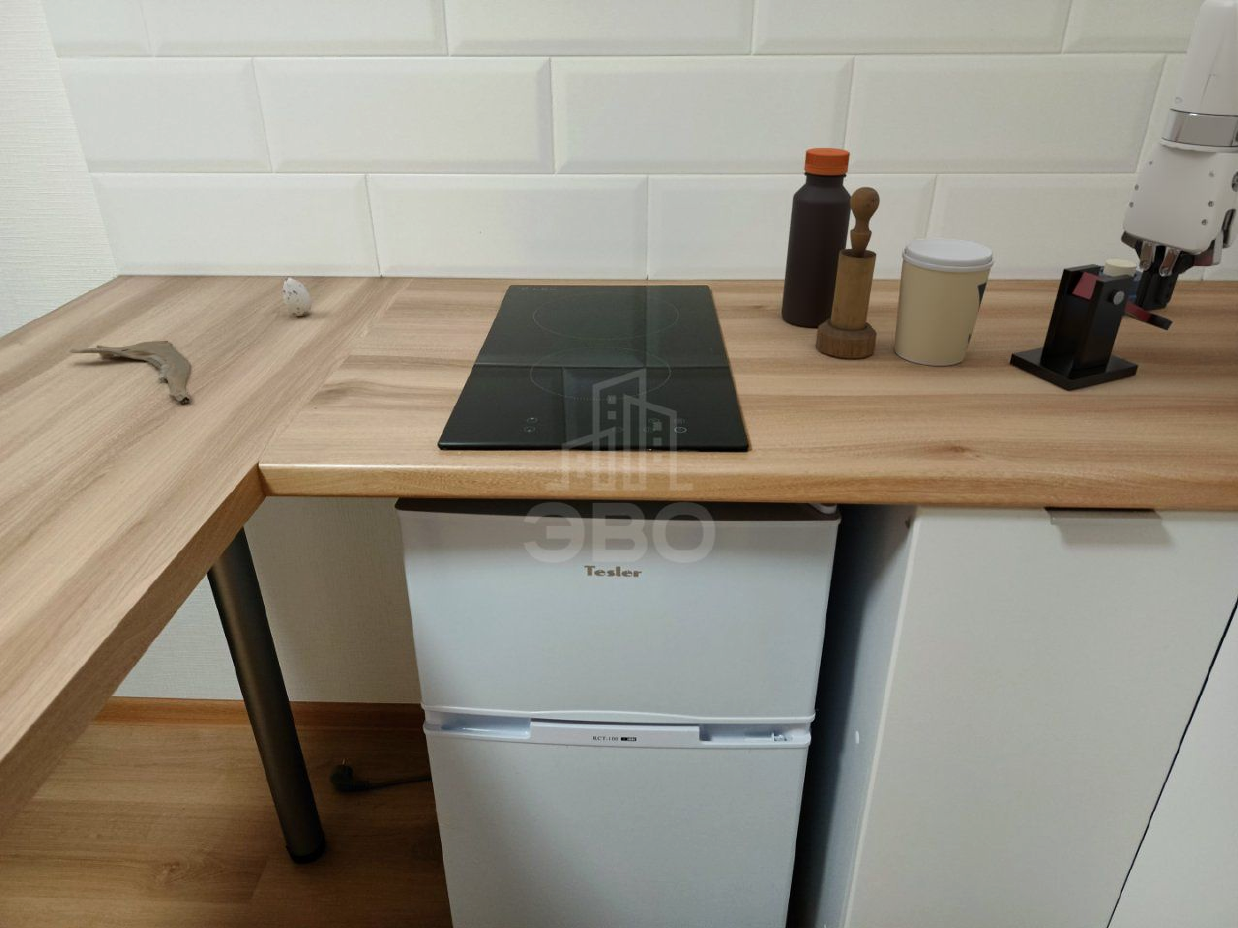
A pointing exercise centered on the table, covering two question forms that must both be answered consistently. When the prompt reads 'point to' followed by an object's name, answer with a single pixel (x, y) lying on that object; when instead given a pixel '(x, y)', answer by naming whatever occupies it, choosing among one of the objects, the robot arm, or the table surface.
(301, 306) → the egg
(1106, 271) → the button
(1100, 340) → the black stand
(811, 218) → the bottle
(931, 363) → the coffee cup
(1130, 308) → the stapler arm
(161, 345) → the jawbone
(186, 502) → the table surface
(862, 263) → the mortar and pestle
